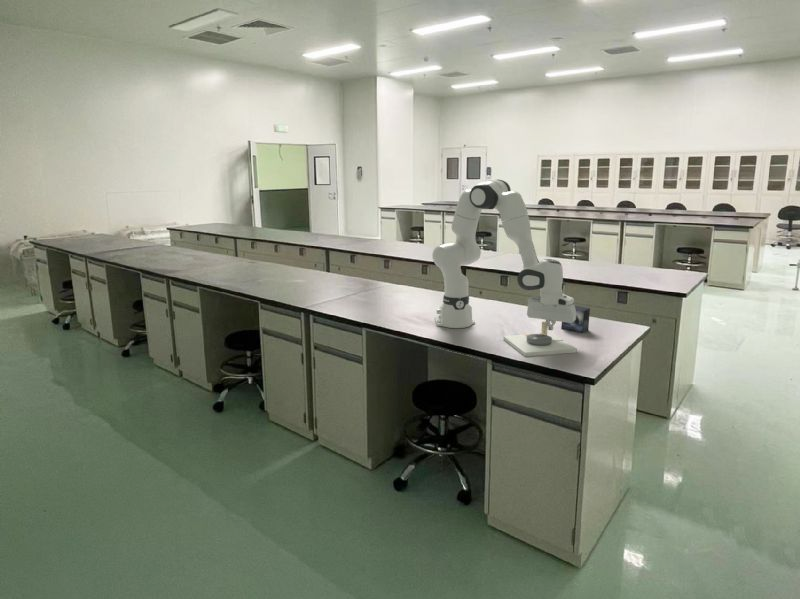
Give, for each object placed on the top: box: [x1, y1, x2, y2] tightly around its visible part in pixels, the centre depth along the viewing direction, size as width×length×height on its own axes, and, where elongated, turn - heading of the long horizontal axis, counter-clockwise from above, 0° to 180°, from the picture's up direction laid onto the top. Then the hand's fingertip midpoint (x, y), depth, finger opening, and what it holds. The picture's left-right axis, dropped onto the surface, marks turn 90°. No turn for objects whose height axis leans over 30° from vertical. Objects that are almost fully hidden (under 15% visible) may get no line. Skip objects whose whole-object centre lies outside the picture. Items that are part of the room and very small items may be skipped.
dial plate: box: [502, 332, 578, 357], centre depth 214 cm, size 22×22×2 cm
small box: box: [560, 304, 591, 334], centre depth 235 cm, size 11×6×10 cm, turn 45°
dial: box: [526, 321, 552, 345], centre depth 215 cm, size 16×10×6 cm, turn 152°
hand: (550, 330), depth 219 cm, fingers closed
